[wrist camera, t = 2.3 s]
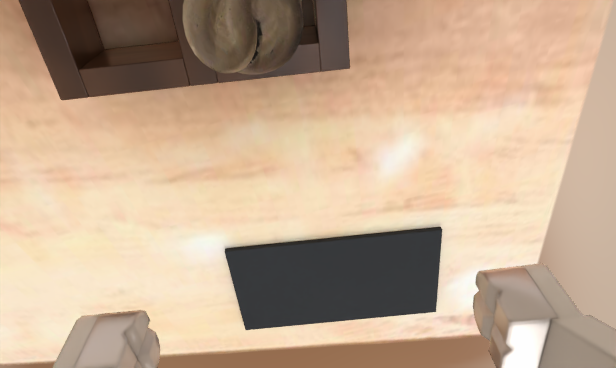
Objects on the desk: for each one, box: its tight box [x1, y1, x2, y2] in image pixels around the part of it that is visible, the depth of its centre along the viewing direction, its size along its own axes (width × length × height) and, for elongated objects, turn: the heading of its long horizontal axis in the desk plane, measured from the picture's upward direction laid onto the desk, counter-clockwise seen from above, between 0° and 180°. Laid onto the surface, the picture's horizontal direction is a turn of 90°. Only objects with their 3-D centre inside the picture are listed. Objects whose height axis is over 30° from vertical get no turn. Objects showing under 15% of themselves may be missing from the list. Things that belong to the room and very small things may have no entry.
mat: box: [225, 227, 442, 330], centre depth 48 cm, size 22×12×1 cm, turn 96°
